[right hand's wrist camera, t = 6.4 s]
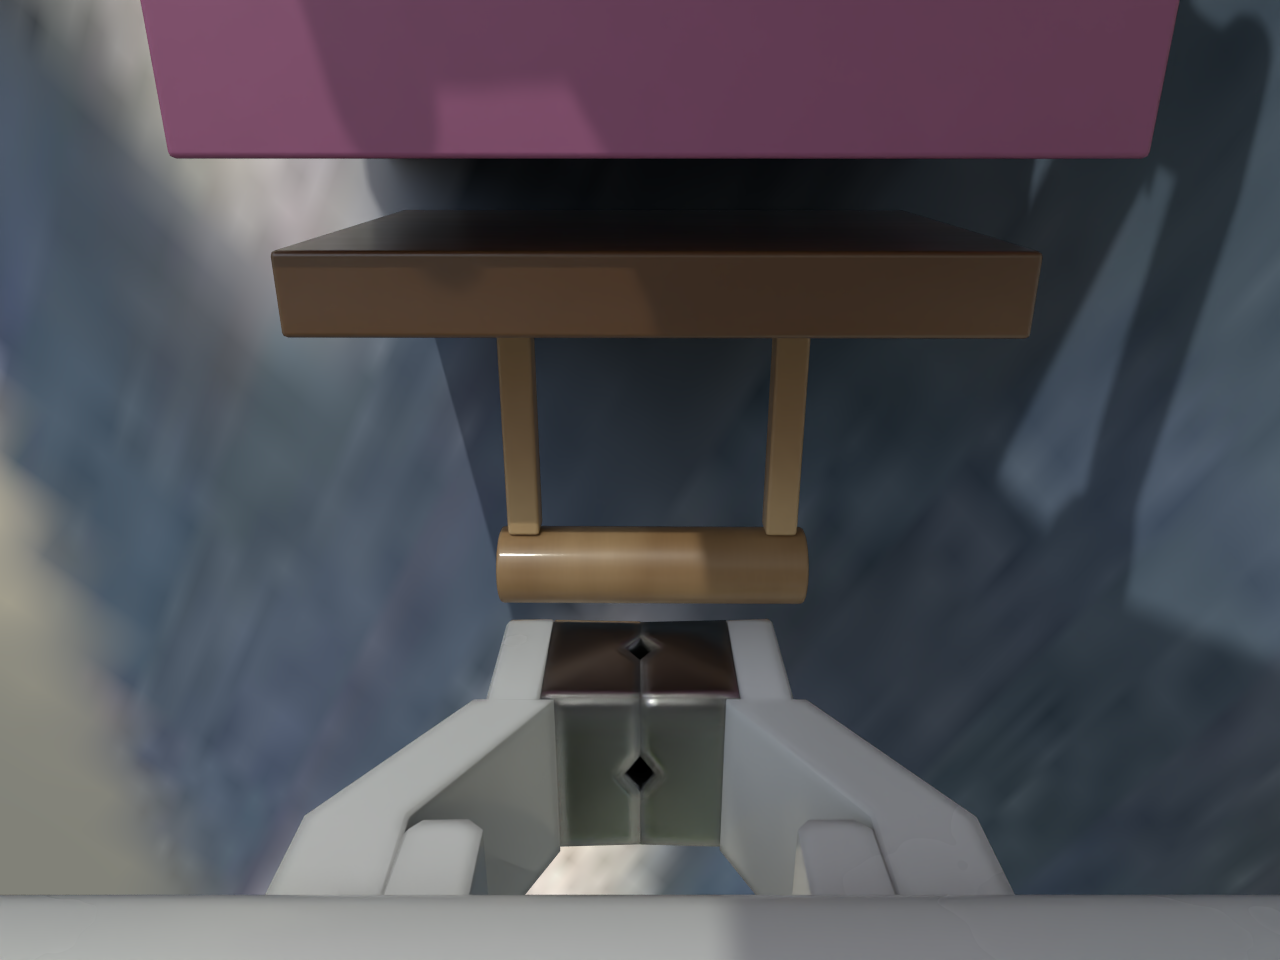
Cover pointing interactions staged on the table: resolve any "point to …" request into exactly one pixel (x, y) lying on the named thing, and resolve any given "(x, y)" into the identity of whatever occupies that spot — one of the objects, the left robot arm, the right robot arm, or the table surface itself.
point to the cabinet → (660, 78)
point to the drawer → (655, 308)
